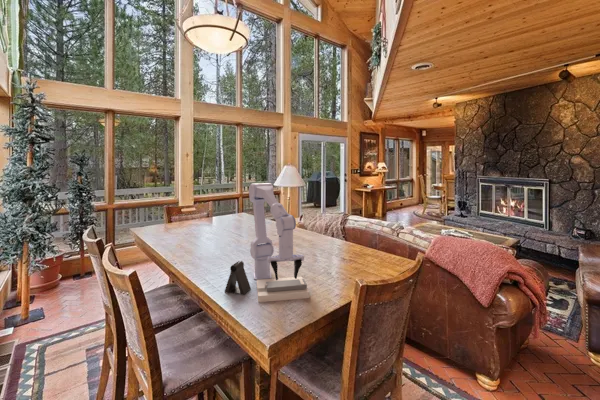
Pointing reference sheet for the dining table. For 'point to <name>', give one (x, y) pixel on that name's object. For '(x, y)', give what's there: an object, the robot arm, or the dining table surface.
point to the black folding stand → (237, 280)
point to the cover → (285, 285)
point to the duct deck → (279, 295)
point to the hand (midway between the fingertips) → (286, 278)
